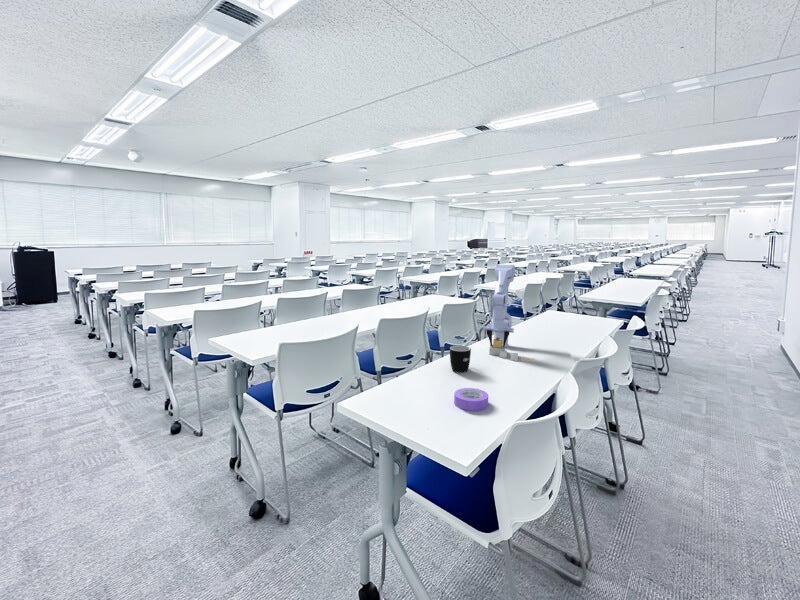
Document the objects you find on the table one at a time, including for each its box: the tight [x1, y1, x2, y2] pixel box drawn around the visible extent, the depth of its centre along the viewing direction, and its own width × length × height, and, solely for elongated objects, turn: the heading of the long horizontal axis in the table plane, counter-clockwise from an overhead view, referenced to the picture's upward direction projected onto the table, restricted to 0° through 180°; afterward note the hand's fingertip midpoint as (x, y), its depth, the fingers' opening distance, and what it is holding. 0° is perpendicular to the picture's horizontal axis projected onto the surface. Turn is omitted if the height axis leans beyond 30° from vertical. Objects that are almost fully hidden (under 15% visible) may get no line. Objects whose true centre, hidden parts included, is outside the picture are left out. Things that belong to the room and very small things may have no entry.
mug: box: [449, 344, 472, 374], centre depth 166 cm, size 12×9×10 cm
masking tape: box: [453, 387, 489, 412], centre depth 133 cm, size 12×12×4 cm
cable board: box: [488, 343, 535, 363], centre depth 181 cm, size 16×22×4 cm
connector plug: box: [492, 337, 502, 349], centre depth 186 cm, size 4×4×8 cm
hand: (497, 345), depth 186 cm, fingers open, 5 cm apart
